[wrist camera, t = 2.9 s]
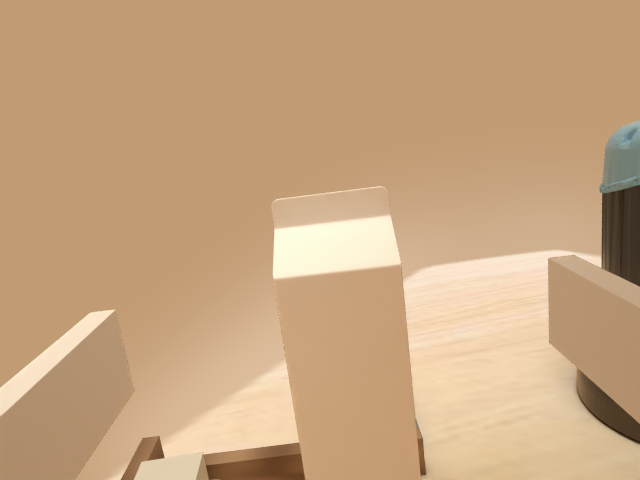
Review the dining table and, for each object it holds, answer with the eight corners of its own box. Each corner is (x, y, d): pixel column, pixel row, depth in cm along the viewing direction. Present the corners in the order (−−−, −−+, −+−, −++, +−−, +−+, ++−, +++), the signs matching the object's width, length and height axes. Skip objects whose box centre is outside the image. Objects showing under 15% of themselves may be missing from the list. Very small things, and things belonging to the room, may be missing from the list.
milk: (325, 513, 32) (275, 191, 27) (415, 505, 32) (381, 178, 27) (323, 600, 26) (259, 210, 21) (433, 592, 26) (395, 193, 21)
